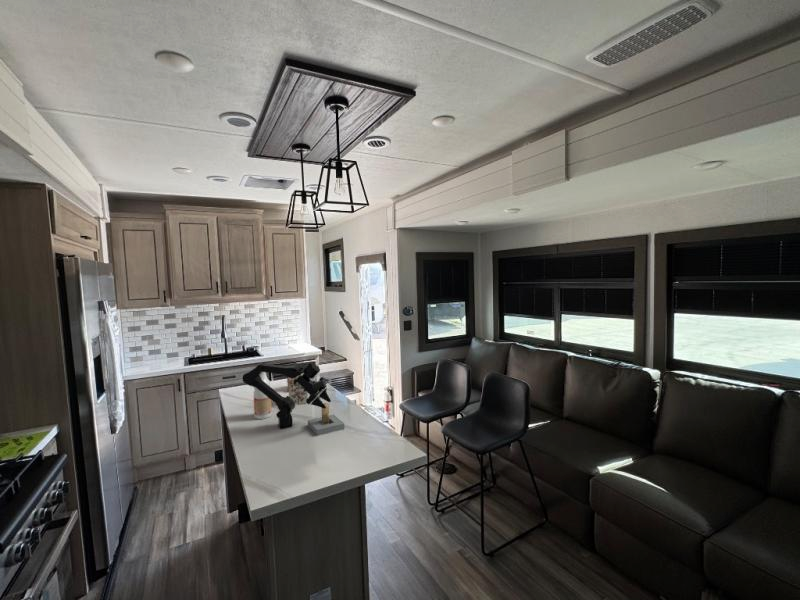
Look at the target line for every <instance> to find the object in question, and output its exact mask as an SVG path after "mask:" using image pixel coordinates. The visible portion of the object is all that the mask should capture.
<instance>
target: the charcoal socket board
mask: <svg viewBox="0 0 800 600" xmlns="http://www.w3.org/2000/svg"><path fill="white" fill-rule="evenodd" d="M329 420H330V422H329V423H330V424H326V425H323V423H322V416H321V417H317V418H312V419H308V420H307V426H308V428H309V427H310V428H311V429H312V430H313V431H312V430H311V429H310V428H309V429H310V430H311V431H312V432H313V433H314V434H315V436H317V435H318V436H321V434H322V435H326V434H330V433H334V432H338V431H341V430H342V431H343V430H344V429H345V423H344V422H343V421H342V420H341V419H340V418H338V416H336V415H335V414H329ZM333 431H334V432H333ZM329 432H330V433H329ZM325 433H326V434H325Z"/></svg>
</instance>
